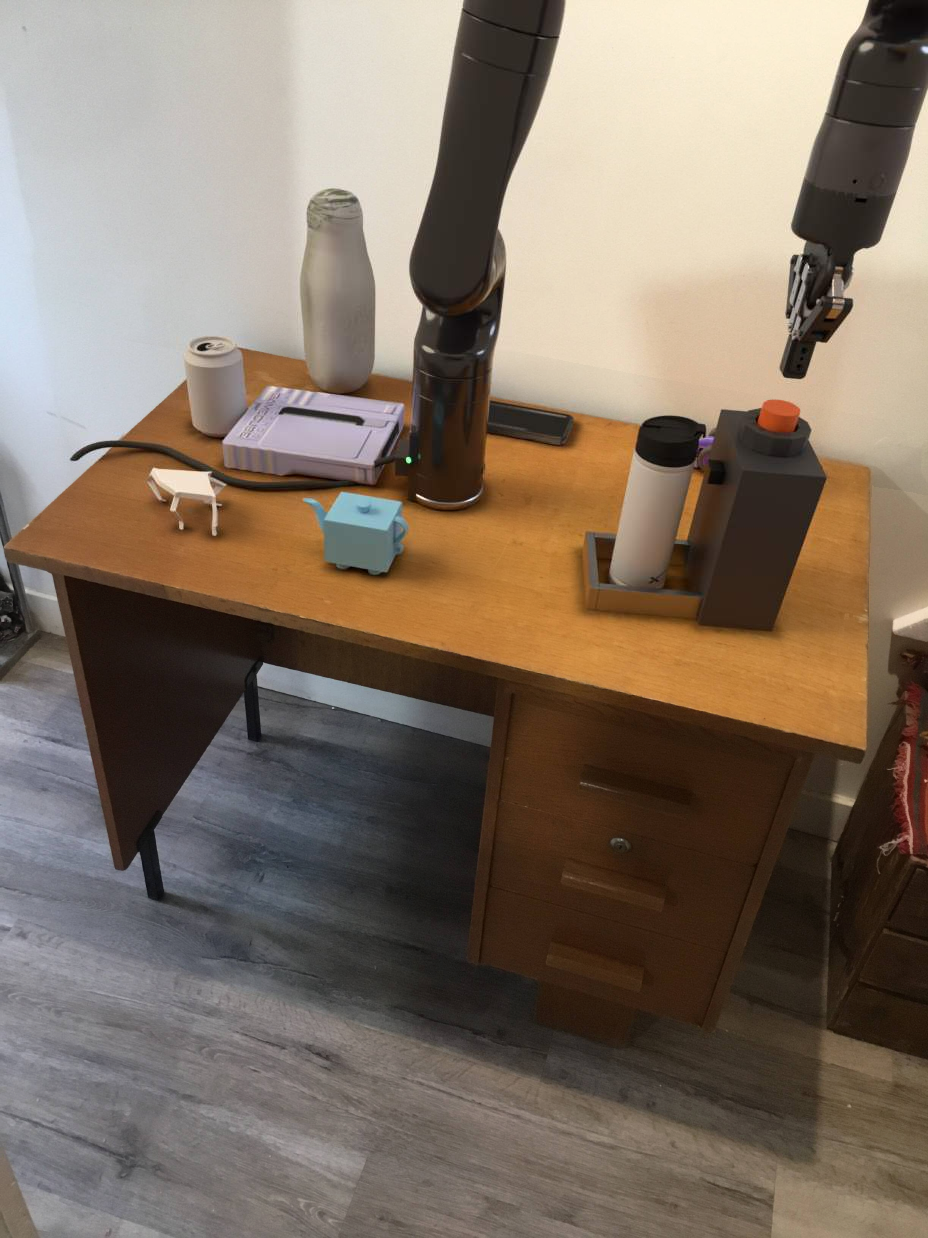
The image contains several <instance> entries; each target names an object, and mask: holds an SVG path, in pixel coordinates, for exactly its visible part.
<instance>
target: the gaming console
mask: <svg viewBox="0 0 928 1238" xmlns="http://www.w3.org/2000/svg"><path fill="white" fill-rule="evenodd" d="M404 424H405V403H402V402H401V403H400V402H394V401H387V400H379V399H372V398H365V397H356V396H350V395H343V394H342V395H341V394H335V393H329V392H322V391H321V392H319V391H309V390H305V389H304V390H301V389H296V388H287V387H281V386H280V387H279V386H273V385H267V386H266V387H265V388H264V389H263V390H262V391H261V393H260V394H259V395H258V397H257V398H256V399H255V400H254V402H252V404H251V405H250V406H249V408H247V411H246V413H245V414H244V415H243V416H242V418H241V419H240V420H239V421H238V423H237V424H236V425H235V426H234V428H233V429H232V430H231V431H230V432H229V434H228V435H227V436H226V437H224V439H223V440H222V441H221V446H222V454H223V455H222V456H223V463H224V467H225V468H227V469H236V470H239V471H250V472H253V473H263V474H272V475H276V476H279V477H280V476H281V477H283V476H289V475H299V476H300V475H301V476H308V477H314V478H315V477H316V478H321V479H328V480H329V479H330V480H336V481H343V480H350V481H355V482H358V483H357V484H362V485H363V484H364V485H370V486H374V485H376V484H377V482H378V480H379V478H380V476H381V474H382V471H383V470H384V468H385V466H386V464H385V465H381V466H379V467H376V468H375V463H374V461H375V460H377V459H380V458H383V457H387V456H390V455H391V453H392V452H393V450H394V447H395V445H396V443H397V441H398V440H399V437H400V435H401V433H402V431H403V428H404Z"/></svg>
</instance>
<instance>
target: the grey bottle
mask: <svg viewBox="0 0 928 1238" xmlns="http://www.w3.org/2000/svg"><path fill="white" fill-rule="evenodd" d="M362 208H363V207H362V205H361V203H360V200H359V198H358V197H357V196H356V195H355V193H353V192H352V191H349V190H345V189H341V188H326V189H322V190H320V191H318V192H315V194H313V195H312V196H311V198H310V199H309V200H308V204H307V207H306V226H307V227H306V241H305V242H306V244H305V247H304V252H303V258H302V262H301V263H302V264H301V270H300V275H299V276H300V277H299V279H300V280H299V299H300V309H301V311H300V312H301V320H302V331H303V332H302V334H303V351H304V352H303V353H304V359H305V365H306V367H307V371H308V373H309V376H310V379H311V380H312V382H313V383H314V384H315V385H316V386H317V387H318V388H319V389H321V390H323V391H325V392H326V393H329V394H335V395H341V394H342V395H343V394H349V393H352V392H355V391H357V390H359V389H360V388H362V387H363V386H364V385H365V384H366V383H367V382H368V380H369V379H370V376H371V375H372V372H373V370H374V366H375V365H374V364H375V358H376V280H375V275H374V270H373V267H372V266H373V265H372V263H371V259H370V256H369V253H368V248H367V242H366V238H365V232H364V213H363V212H364V211H363V209H362Z"/></svg>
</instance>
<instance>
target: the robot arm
mask: <svg viewBox="0 0 928 1238" xmlns="http://www.w3.org/2000/svg"><path fill="white" fill-rule="evenodd" d="M566 4H567V0H463V1H462V4H461V5H462V7H461V12H460V17H459V21H458V25H457V26H458V27H457V30H456V37H455V43H454V47H453V51H452V59H451V66H450V73H449V78H448V83H447V90H446V97H445V102H444V107H443V115H442V120H441V121H442V122H441V128H440V129H441V130H440V136H439V146H438V153H437V159H436V164H435V169H434V174H433V178H432V181H431V182H432V183H431V186H430V188H429V193H428V196H427V199H426V203H425V207H424V210H423V213H422V217H421V218H420V219H421V220H420V222H419V226H418V230H417V233H416V236H415V239H414V242H413V244H412V248H411V252H410V255H409V262H408V274H409V279H410V284H411V288H412V290H413V293H414V295H415V296H416V299H417V300H418V301H419V303H420V304H421V305H422V308H421V314H420V318H419V322H418V326H417V329H416V332H415V335H414V341H413V352H412V353H413V354H412V355H413V356H412V357H413V358H412V388H411V389H412V392H411V398H412V399H411V422H410V426H409V431H408V439H404V438H403V439H402V438H400V439H399V438H398V444H397V446H396V452H395V453H394V454H390V455H389V456H387V457H383V458H380V459H377V460H375V461H374V463H375V468H376V467H379V466H381V465H385V466H386V465H388V464H392V463H394V476H397V477H406V478H407V491H406V494H407V495H406V500H407V501H411V502H412V501H415V502H417V503H419V504H420V505H422V506H425V507H427V508H430V509H434V510H441V511H456V510H462V509H466V508H469V507H471V506H473V505H475V504H477V503H478V502H479V501H480V500H481V498H482V496H483V491H484V490H483V489H484V475H486V459H485V458H486V447H487V437H488V436H487V435H488V432H487V425H488V413H489V402H490V400H491V388H492V377H493V366H494V358H495V357H494V356H495V350H496V346H497V343H498V339H499V333H500V329H501V320H502V319H501V318H502V311H503V301H504V293H505V291H504V290H505V282H506V274H507V248H506V243H505V240H504V237H503V234H502V232H501V230H500V229H499V225H500V220H501V215H502V209H503V205H504V200H505V197H506V193H507V189H508V187H509V183H510V180H511V178H512V175H513V172H514V170H515V167H516V165H517V163H518V160H519V158H520V156H521V154H522V151H523V149H524V147H525V145H526V142H527V140H528V138H529V135H530V132H531V130H532V127H533V125H534V123H535V120H536V117H537V115H538V112H539V109H540V106H541V104H542V101H543V98H544V95H545V92H546V89H547V86H548V82H549V79H550V76H551V72H552V68H553V64H554V61H555V58H556V53H557V49H558V46H559V42H560V41H559V40H560V35H561V34H562V28H563V25H564V19H565V13H566ZM829 93H830V94H829V97H828V101H827V104H826V108H825V112H824V115H823V118H822V121H821V123H820V126H819V129H818V131H817V133H816V136H815V138H814V141H813V144H812V147H811V149H810V150H811V151H810V154H809V158H808V162H807V165H806V169H805V172H804V176H803V180H802V183H801V187H800V190H799V194H798V198H797V200H796V204H795V209H794V212H793V216H792V220H791V223H790V229H791V232H792V233H793V234H794V235H795V236H796V237H797V238H799V239H801V240H803V241H805V243H804V246H803V251H802V253H799V254H792V256H791V258H790V260H789V264H790V265H789V275H788V286H787V297H786V306H785V307H786V308H785V319H787V320H789V321H788V323H787V332H788V337H787V340H786V343H785V346H784V350H783V354H782V357H781V360H780V364H779V368H778V369H779V371H780V373H781V375H782V377H783V378H785V379H791V380H792V379H794V380H802V379H805V378H806V376H807V374H808V370H809V368H810V364H811V362H812V358H813V355H814V351H815V348H816V346H817V343H822V344H827V343H828V342H829V341H830V340H831V338H832V337H833V335H834V334H835V333H836V332H837V330H838V329H839V328H840V326H841V325H842V324H843V322H844V321H845V320H846V319H847V317H848V316H849V315H850V313H851V312H852V310H853V308H854V299H853V297H844V293H845V291H846V290H847V289H848V288H849V286H850V284H851V281H852V278H853V275H854V267H853V264H854V260H855V255H856V254H857V252H859V251H861V250H863V249H871V248H873V247H875V246H877V245H878V244H879V243H880V242H881V240H882V237H883V234H884V231H885V228H886V225H887V223H888V218H889V216H890V213H891V210H892V207H893V205H894V202H895V200H896V199H895V198H896V196H897V192H898V190H899V187H900V184H901V181H902V178H903V175H904V171H905V170H906V169H905V168H906V165H907V163H908V159H909V156H910V152H911V148H912V143H913V138H914V133H915V129H916V126H917V122H918V120H919V117H920V115H921V111H922V108H923V105H924V102H925V99H926V97H927V93H928V0H868V1H867V4H866V8H865V12H864V15H863V18H862V20H861V22H860V24H859V26H858V28H857V29H856V31H855V32H854V33H853V34H852V35H851V36H850V38H849V40H848V41H847V43H846V45H845V47H844V49H843V51H842V53H841V56H840V59H839V63H838V65H837V69H836V72H835V75H834V79H833V82H832V87H831V90H830V92H829ZM106 448H107V449H108V448H125V449H127V448H128V449H138V450H147V451H156V452H160V453H163V454H166V455H168V456H171V457H172V458H175V459H177V460H179V461H181V462H182V463H184V464H185V465H186V464H187V465H188V466H191V467H193V468H195V469H197V470H200V471H201V472H212V473H211V476H210V477H212V478H214V479H217V480H219V481H221V482H223V483H225V484H229V485H233V486H237V487H241V488H247V489H257V490H258V489H259V490H282V489H336V488H337V489H338V488H345V487H352V486H355V485H357V484H359V483H358V482H355V481H350V480H343V481H342V480H336V481H324V480H323V481H322V480H321V481H320V480H288V481H257V480H256V481H255V480H247V479H242V478H237V477H234V476H231V475H227V474H225V473H223V472H220V471H218V470H217V469H216V468H214V467H212V466H209V465H208V464H206V463H204V462H201V461H199V460H196V459H194V458H192V457H190V456H188V455H186V454H184V453H182V452H180V451H178V450H176V449H175V448H172V447H169V446H166V445H163V444H159V443H151V442H142V441H133V440H116V439H115V440H114V439H113V440H102V441H97V442H93V443H90V444H86V445H85V446H83V447H82V448H80V449H79V450H77V451H76V452H75V453H73V454H72V456H71V457H70V458H69V461H71V462H78V461H79V460H80V459H82V458H83V457H84V456H86V455H88V454H89V453H92V452H95V451H97V450H102V449H106Z"/></svg>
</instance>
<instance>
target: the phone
mask: <svg viewBox="0 0 928 1238" xmlns="http://www.w3.org/2000/svg"><path fill="white" fill-rule="evenodd" d="M573 426H574V416H573V415H570V414H568V413H562V412H557V411H552V410H547V409H540V408H534V407H529V406H523V405H518V404H512V403H506V402H501V401H496V400H491V399H490V402H489V413H488V425H487V433H490V434H491V433H492V434H496V435H501V436H506V437H512V438H519V439H523V440H529V441H534V442H539V443H545V444H550V445H556V446H563V445H565V444H566V443H567V441H568V438H569V436H570V434H571V431H572V428H573Z"/></svg>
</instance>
